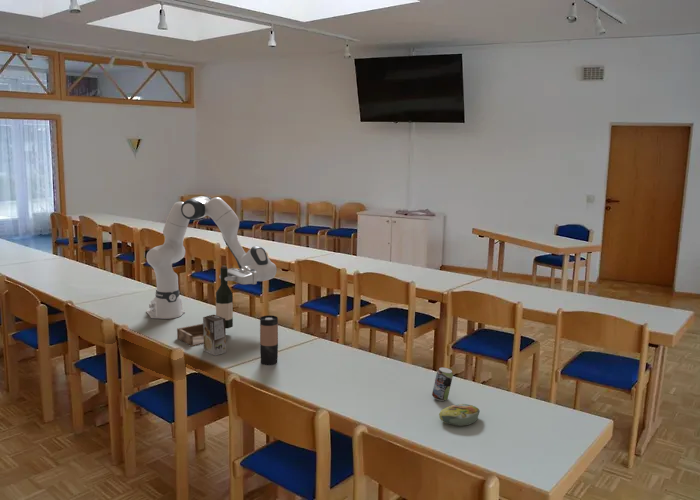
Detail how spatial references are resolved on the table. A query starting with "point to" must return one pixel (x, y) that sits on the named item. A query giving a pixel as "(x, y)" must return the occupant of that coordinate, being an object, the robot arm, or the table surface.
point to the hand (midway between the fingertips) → (222, 278)
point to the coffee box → (214, 334)
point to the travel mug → (269, 339)
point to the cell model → (459, 414)
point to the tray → (191, 335)
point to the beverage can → (442, 384)
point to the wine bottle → (224, 300)
